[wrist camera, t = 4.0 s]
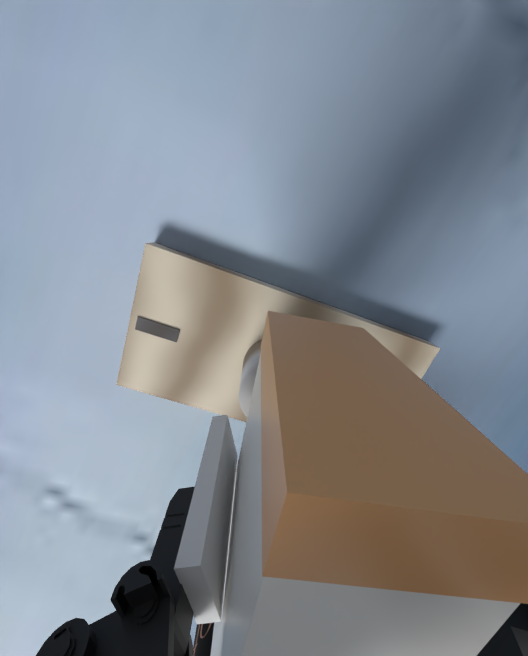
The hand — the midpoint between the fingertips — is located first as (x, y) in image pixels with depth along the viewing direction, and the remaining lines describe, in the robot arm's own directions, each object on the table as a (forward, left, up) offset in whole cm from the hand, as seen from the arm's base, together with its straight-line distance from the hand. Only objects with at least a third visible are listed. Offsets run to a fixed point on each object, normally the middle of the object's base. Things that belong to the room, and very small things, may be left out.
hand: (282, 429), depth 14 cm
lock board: (0, 0, -8) cm, 8 cm away
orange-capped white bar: (0, 0, -2) cm, 2 cm away
